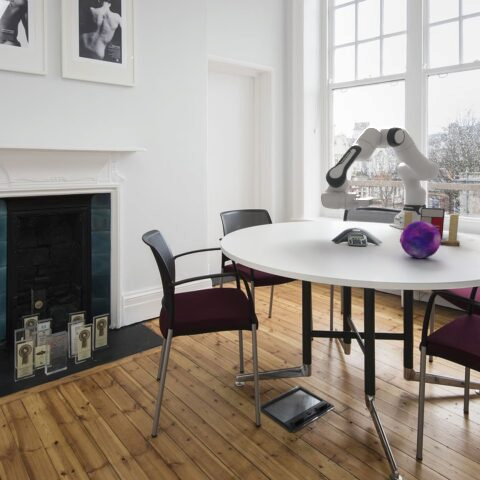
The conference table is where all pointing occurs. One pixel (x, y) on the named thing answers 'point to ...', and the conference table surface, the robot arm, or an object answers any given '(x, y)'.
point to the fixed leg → (453, 228)
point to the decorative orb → (420, 239)
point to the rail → (448, 243)
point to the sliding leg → (408, 218)
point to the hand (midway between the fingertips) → (381, 202)
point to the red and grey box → (434, 217)
